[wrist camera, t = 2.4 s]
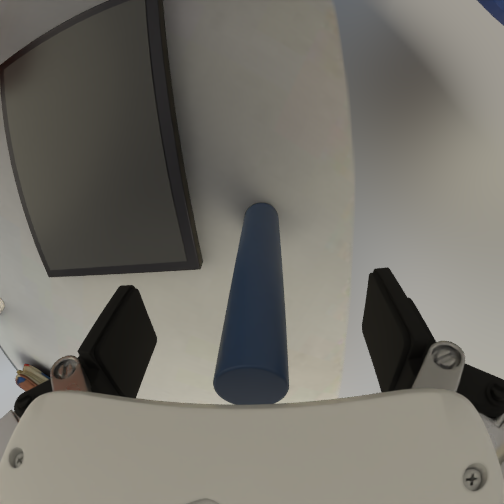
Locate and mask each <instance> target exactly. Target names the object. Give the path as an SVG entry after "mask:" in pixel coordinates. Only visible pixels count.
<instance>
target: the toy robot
mask: <svg viewBox="0 0 504 504" xmlns="http://www.w3.org/2000/svg"><path fill="white" fill-rule="evenodd" d="M4 307H5V305H4V303H3V301H2V300H1V299H0V314H1V312H2V310H3V309H4Z"/></svg>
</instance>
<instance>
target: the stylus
mask: <svg viewBox="0 0 504 504" xmlns="http://www.w3.org/2000/svg"><path fill="white" fill-rule="evenodd" d="M213 385H214V389H215V391H216V393H217V394H218V395H219V396H220V397H221V398H223V399H224V400H226V401H228V402H230V403H232V404H235V405H257V404H274V403H276V402H278V401H280V400H281V399H282V398H284V396H285V395H286V394H287V392H288V389H289V376H288V354H287V335H286V318H285V302H284V286H283V272H282V258H281V245H280V233H279V221H278V214H277V212H276V210H275V209H274V208H273V207H272V206H271V205H269V204H266V203H257V204H254V205H252V206H251V207H249V208H248V210H247V211H246V213H245V217H244V222H243V227H242V232H241V237H240V243H239V248H238V253H237V258H236V263H235V268H234V273H233V278H232V284H231V289H230V294H229V299H228V305H227V310H226V315H225V321H224V326H223V331H222V337H221V342H220V347H219V353H218V358H217V364H216V369H215V375H214V381H213Z"/></svg>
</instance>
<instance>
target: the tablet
mask: <svg viewBox="0 0 504 504" xmlns="http://www.w3.org/2000/svg"><path fill="white" fill-rule="evenodd" d="M0 89H1V101H2V111H3V119H4V127H5V133H6V139H7V145H8V150H9V155H10V160H11V165H12V169H13V173H14V177H15V181H16V185H17V189H18V193H19V196H20V200H21V203H22V207H23V210H24V213H25V216H26V219H27V222H28V225H29V228H30V231H31V234H32V237H33V239H34V242H35V245H36V247H37V250H38V252H39V255H40V257H41V260H42V262H43V265H44V267H45V269H46V272H47V274H48V276H49V277H64V276H86V275H107V274H126V273H144V272H162V271H179V270H195V269H200V268H201V266H202V263H203V260H202V256H201V251H200V246H199V242H198V237H197V232H196V227H195V222H194V217H193V212H192V207H191V202H190V196H189V191H188V186H187V180H186V175H185V169H184V163H183V157H182V151H181V145H180V139H179V133H178V127H177V120H176V113H175V106H174V99H173V92H172V85H171V77H170V69H169V61H168V52H167V43H166V33H165V23H164V12H163V0H109V1H106V2H104V3H102V4H100V5H97V6H95V7H93V8H91V9H89V10H87V11H85V12H83V13H81V14H79V15H77V16H75V17H73V18H71V19H69V20H67V21H66V22H64V23H62V24H60V25H58V26H57V27H55V28H53V29H52V30H50V31H48V32H47V33H45V34H43V35H42V36H40V37H39V38H37V39H36V40H34V41H33V42H31V43H30V44H28V45H27V46H25V47H24V48H22V49H21V50H20V51H18V52H17V53H15V54H14V55H13V56H11V57H10V58H9V59H7V60H6V61H5V62H4V63H2V64H1V65H0Z"/></svg>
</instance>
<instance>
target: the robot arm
mask: <svg viewBox="0 0 504 504" xmlns="http://www.w3.org/2000/svg"><path fill="white" fill-rule="evenodd" d="M362 332H363V335H364V338H365V341H366V344H367V347H368V350H369V353H370V356H371V359H372V362H373V366H374V369H375V372H376V375H377V378H378V381H379V385H380V388H381V392H382V393H376V394H369V395H362V396H355V397H347V398H339V399H331V400H321V401H311V402H299V403H283V404H257V405H218V404H193V403H177V402H165V401H154V400H145V399H137V398H136V396H137V393H138V390H139V388H140V385H141V382H142V380H143V377H144V374H145V372H146V369H147V366H148V364H149V361H150V359H151V356H152V353H153V351H154V348H155V346H156V343H157V336H156V333H155V331H154V329H153V326H152V324H151V321H150V319H149V316H148V314H147V311H146V309H145V306H144V303H143V301H142V298H141V295H140V293H139V290H138V289H135V287H134V286H132V285H126V286H120V287H119V288H118V289H117V291H116V292H115V294H114V295H113V297H112V298H111V299H110V301H109V302H108V304H107V305H106V307H105V308H104V310H103V312H102V313H101V315H100V316H99V318H98V319H97V321H96V322H95V324H94V325H93V327H92V329H91V330H90V332H89V333H88V335H87V337H86V338H85V340H84V341H83V343H82V345H81V346H80V348H79V350H78V353H79V357H78V358H77V357H75V356H72V355H71V356H65V357H62V358H60V359H59V360H57V361H56V362H55V363H54V365H53V366H52V368H51V371H50V377H51V379H49V380H47V381H45V382H43V383H41V384H39V385H37V386H35V387H33V388H32V389H30V390H28V391H26V392H24V393H22V394H21V395H20V396H19V397H18V399H17V400H16V402H15V406H14V410H15V411H14V412H13V411H12V410H10V411H9V412H8V413H7V414H6V415H5V416H4V417H3V418H1V419H0V504H504V380H503V379H501V378H498V377H496V376H493V375H491V374H489V373H486V372H484V371H481V370H479V369H477V368H475V367H472V366H470V365H467V364H465V355H464V352H463V351H462V349H461V348H460V347H459V346H458V345H456V344H454V343H452V342H448V341H439V342H436V341H435V339H434V337H433V336H432V334H431V332H430V330H429V328H428V327H427V325H426V323H425V321H424V320H423V318H422V316H421V314H420V313H419V311H418V309H417V308H416V306H415V304H414V303H413V301H412V300H411V299H410V298H407V296H406V295H405V293H404V292H403V290H402V288H401V286H400V285H399V283H398V282H397V280H396V278H395V277H394V275H393V274H392V272H391V270H390V269H389V268H378V269H374V271H373V273H370V274H369V280H368V288H367V295H366V303H365V310H364V316H363V322H362Z"/></svg>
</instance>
